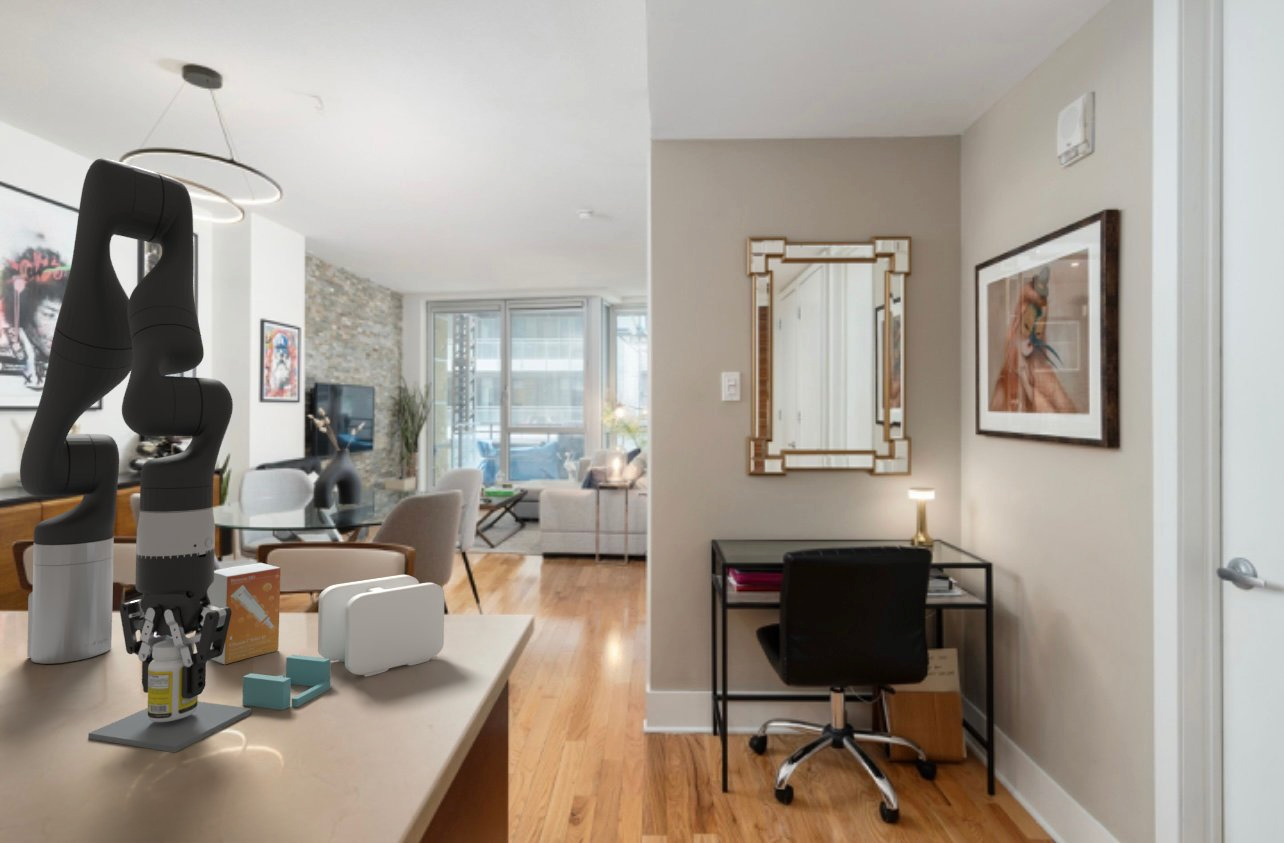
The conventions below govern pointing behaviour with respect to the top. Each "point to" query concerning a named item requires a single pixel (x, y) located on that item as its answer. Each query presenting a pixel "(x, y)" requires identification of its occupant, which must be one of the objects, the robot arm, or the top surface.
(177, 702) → the supplement bottle
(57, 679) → the top surface
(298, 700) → the teal corner cradle
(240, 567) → the small box
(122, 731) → the mat
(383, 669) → the cable organizer
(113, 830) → the top surface
